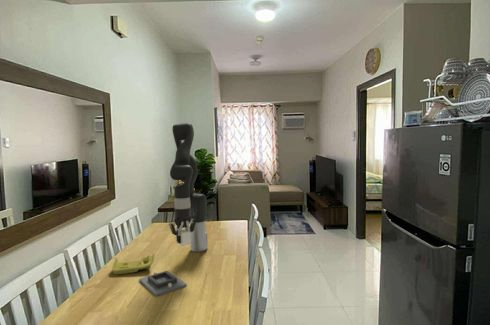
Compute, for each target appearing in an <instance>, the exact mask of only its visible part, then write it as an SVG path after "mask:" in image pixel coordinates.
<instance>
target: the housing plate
mask: <svg viewBox="0 0 490 325" xmlns="http://www.w3.org/2000/svg"><path fill="white" fill-rule="evenodd" d="M138 281H139V282H140V283H141V284H142V285H143V286H144V287H145V288H146V289H147V290H148V291H150V293H151V294H152V295H153V296H155V297H159V296H161V295H162V296H163V295H164V294H168V293H170V292H173V291H177V290H179V289H182V288H185V287H187V283H186V282H184V280H181V278H179V277H178V276H176V274H173V273H172V272H171V271H169V270H164V271H161V272H157V271H153V274H151V275H148V276H145V277H141V278H139V279H138Z"/></svg>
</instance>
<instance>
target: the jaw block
mask: <svg viewBox="0 0 490 325" xmlns="http://www.w3.org/2000/svg"><path fill="white" fill-rule="evenodd" d="M180 236H181V243H178V242H177V241H176V244H178V245H180V246H187V245H190V231H187V230H185V228H184V229H183V228H182V231H181V234H180Z"/></svg>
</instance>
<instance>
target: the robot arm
mask: <svg viewBox="0 0 490 325" xmlns="http://www.w3.org/2000/svg"><path fill="white" fill-rule="evenodd" d="M171 131H172V136H173V138H174V142H175V147H176V151H175V159H174V161H173V164H172V165H171V168H170V172H169V176H170V178H171V179H172V181H183V183H181V184H178V185H175V186H174V204H173V205H174V207H173V208H174V220H173V222H169V224H168V226H169V229H170V232H171V234H172V235H173V236H176V237H175V239H176V243H177V242H178V243H181V236H180V234H181V231H182V229H183V228H184V229H185V230H187V231H190V244H189V246H190V251H191V252H194V253H199V252H204V251H206V250H208V249H209V246H208V244H209V243H208V232H207V226H206V225H207V224H206V221H207V220H206V219H207V218H206V217H207V206H208V205H207V204H208V202H207V196H206V195H205V194H204V193H195V183H196V179H197V177H198V174H199V170H198V164H197V161H196V159H195V157H193V155H192V154H191V148H192V145H193V141H194V135H195V131H194V126H193V124H192V123H190V122H184V123H177V124H174V125H173V126H172V130H171ZM191 210H196V213H195V214H193V215H192V214H191V212H192V211H191ZM178 243H177V244H178Z"/></svg>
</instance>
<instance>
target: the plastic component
mask: <svg viewBox="0 0 490 325" xmlns="http://www.w3.org/2000/svg"><path fill="white" fill-rule="evenodd" d="M155 254H156V252H154V253H152V254H151V255H146V256H143V257H141V258H139V259H134V260H126V261H125V260H124V261H119V260H118V258H117V257H116V258H114V261H113V264H112V267H111V269H112V272H113V274H114V275H124V274H130V273H137V272H139V270H149V269H151V266H152V265H153V263H154V261H155V256H156V255H155Z"/></svg>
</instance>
